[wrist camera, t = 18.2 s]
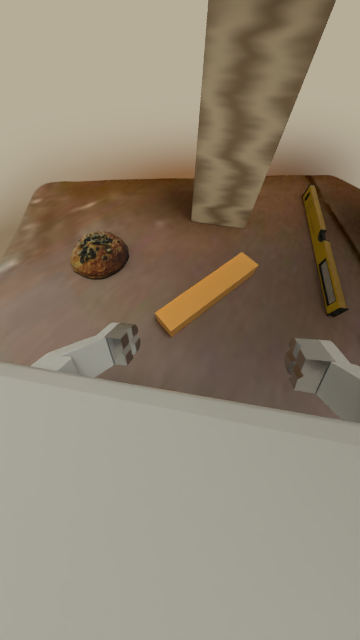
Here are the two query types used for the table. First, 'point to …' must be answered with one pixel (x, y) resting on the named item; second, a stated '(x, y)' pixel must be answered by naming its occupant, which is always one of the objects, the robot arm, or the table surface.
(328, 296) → the spirit level
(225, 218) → the stand
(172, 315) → the long orange beam
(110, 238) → the bread roll
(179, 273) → the table surface
